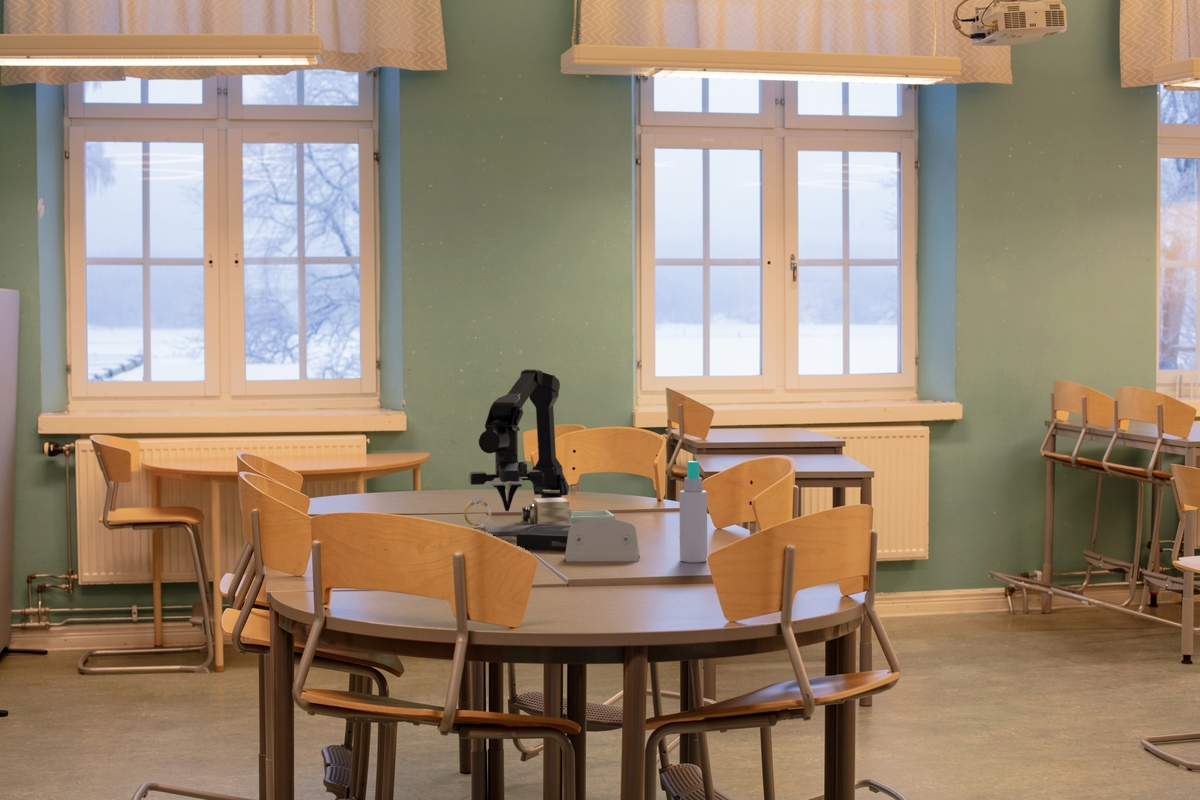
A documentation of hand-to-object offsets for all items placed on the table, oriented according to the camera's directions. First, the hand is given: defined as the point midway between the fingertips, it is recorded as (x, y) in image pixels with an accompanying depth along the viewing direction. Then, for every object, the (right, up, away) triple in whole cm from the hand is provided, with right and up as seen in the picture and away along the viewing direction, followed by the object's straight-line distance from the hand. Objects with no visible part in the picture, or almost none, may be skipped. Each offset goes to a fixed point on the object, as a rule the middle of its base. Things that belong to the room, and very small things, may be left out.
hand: (506, 511), depth 301 cm
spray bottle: (+44, -7, -41) cm, 61 cm away
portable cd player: (+14, -7, -18) cm, 24 cm away
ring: (-8, -5, +9) cm, 13 cm away
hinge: (+24, -8, -37) cm, 45 cm away
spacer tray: (+21, -5, +16) cm, 27 cm away
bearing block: (+7, -5, +2) cm, 9 cm away
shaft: (+10, -3, +2) cm, 11 cm away
